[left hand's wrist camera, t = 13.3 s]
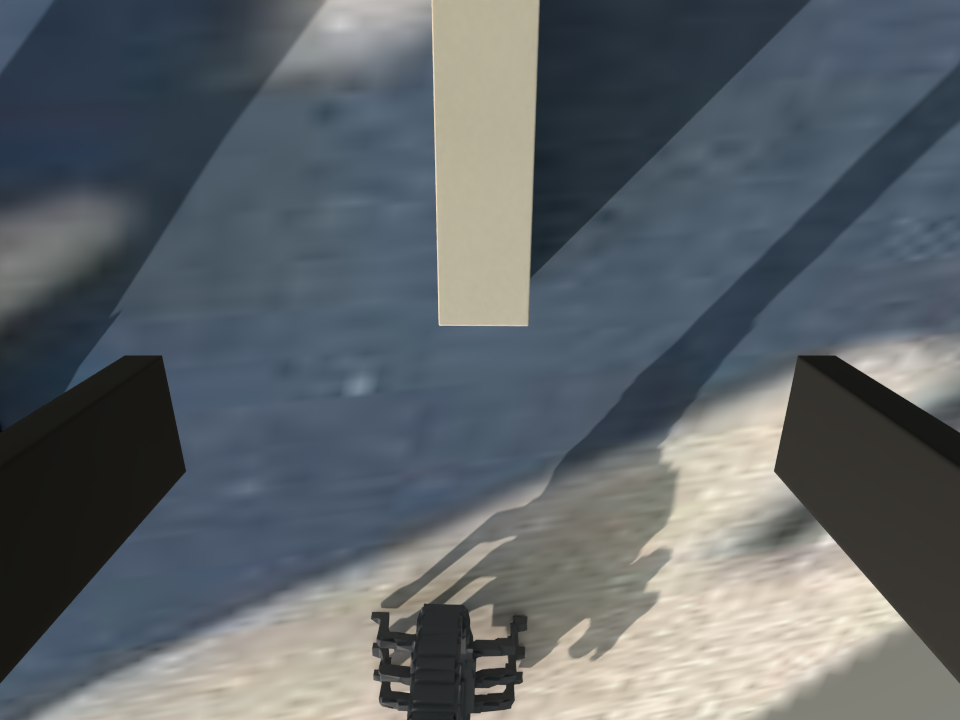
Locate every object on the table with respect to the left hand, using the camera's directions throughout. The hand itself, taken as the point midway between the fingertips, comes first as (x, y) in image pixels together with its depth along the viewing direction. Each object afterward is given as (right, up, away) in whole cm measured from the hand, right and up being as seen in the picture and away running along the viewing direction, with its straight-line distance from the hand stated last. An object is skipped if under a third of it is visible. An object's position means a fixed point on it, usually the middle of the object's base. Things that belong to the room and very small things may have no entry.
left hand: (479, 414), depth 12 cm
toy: (-3, -25, +40) cm, 48 cm away
